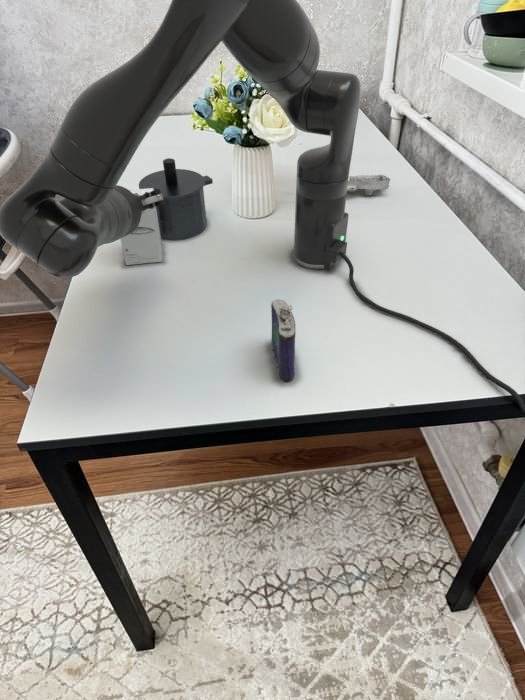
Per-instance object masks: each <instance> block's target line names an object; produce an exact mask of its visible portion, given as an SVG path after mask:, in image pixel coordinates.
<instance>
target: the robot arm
mask: <svg viewBox="0 0 525 700" xmlns="http://www.w3.org/2000/svg"><path fill="white" fill-rule="evenodd" d="M221 43H222V44H223V45H224V47H225V48H226V49H227V50H228V52H229V53H230V55H231V56H232V57H233V58H234V60H236V62H237V63H238V64H239V65H240V67H242V68H243V70H244V71H245V72H246V73H247V75H248V76H250V77H251V78H252V79H253V80H254V81H255V82H256V84H258V85H259V86H260V87H261V88H262V89H264V90H265V91H266V92H267V93H268V94H269V95H270V96H271V97H272V99H273V100H274V101H275V102H277V103H278V105H279V106H280V108H281V109H282V111H283V113H284V114H285V115H286V117H287V119H288V120H289V122H290V123H291V124H292V125H293V127H294V128H295V129H297V130H299V131H301V132H303V133H307V134H308V133H309V134H313V135H314V134H315V135H321V136H327V137H330V142H329V143H328V144H325V145H322V146H318V147H314V148H310V149H308V150H305V151H304V152H302V153H301V154H300V155H299V157H298V158H297V163H296V181H295V182H296V183H295V185H296V186H295V207H294V209H295V211H294V233H293V234H294V237H293V252H292V253H293V254H292V257H293V260H294V261H295V263H296V264H298V265H300V266H301V267H304V268H306V269H310V270H326V271H330V270H332V269H333V268H334V267H335V266H336V265H337V264H338V263H340V262H341V260H344V261H345V263H346V264H347V266H348V269H349V273H348V280H349V283H350V286H351V289H352V290H353V291H354V293H355V295H356V296H357V297H358V298H359V299H360V300H362V301H363V302H364V303H366V304H368V305H369V306H370V307H372V308H374V309H375V310H377V311H379V312H382V313H384V314H387V315H389V316H393V317H395V318H399V319H401V320H404V321H407V322H409V323H412V324H414V325H416V326H418V327H420V328H423V329H425V330H427V331H429V332H432V333H433V334H436V335H438V336H439V337H440V338H443V339H445V340H446V341H448V342H449V343H451V344H452V345H454V346H455V347H456V348H457V349H458V350H460V351H461V352H462V353H463V355H464V356H466V357H467V358H468V360H469V361H470V362H471V364H473V366H474V367H475V368H476V370H478V371H479V372H480V373H481V374H482V376H484V377H485V378H486V379H487V380H488V381H490V382H491V383H493V384H494V385H496V386H498V387H500V388H501V389H503V390H504V391H505V392H507V393H508V394H509V395H511V396H512V397H513V398H514V401H516V403H517V405H518V408H519V409H520V410H521V411H522V412H523V413H525V402H524V400H523V398H522V397H521V395H520V394H519V393H518V392H517V391H516V390H515V389H514V388H512V386H510V385H508V384H506V383H505V382H503V381H502V380H500V379H498V378H496V377H495V376H493V375H492V374H491V373H490V372H489V371H487V369H486V368H485V367H484V366H483V365H482V364H481V363H480V362H479V361H478V360H477V359H476V357H475V356H474V355H473V354H472V353H471V352H470V351H469V350H468V349H467V348H466V347H465V346H464V345H463V344H462V343H460V342H459V341H458V340H457V339H455V338H454V337H452V336H450V335H449V334H447V333H445V332H443V331H442V330H440V329H438V328H437V327H433V326H432V325H429V324H427V323H425V322H423V321H420V320H418V319H416V318H413V317H412V316H409V315H407V314H403V313H401V312H399V311H394V310H392V309H388V308H386V307H383V306H382V305H379V304H377V303H375V302H374V301H372V300H371V299H369V298H368V297H366V296H365V295H364V294H363V293H361V292H360V290H359V289H358V287H357V286H356V282H355V280H354V274H355V273H354V272H355V271H354V269H355V268H354V266H353V263H352V261H351V260H350V259H349V257H348V256H347V255H346V254H347V247H348V242H347V240H346V239H347V234H348V224H349V213H348V212H346V203H347V195H348V191H347V187H348V181H349V179H350V178H349V177H350V169H351V164H352V163H351V162H352V158H353V157H352V155H353V150H354V143H355V135H356V128H357V124H358V123H357V122H358V117H359V112H360V105H361V98H362V97H361V94H362V90H361V89H362V88H361V81H360V79H359V77H358V76H357V75H356V74H354V73H350V72H341V71H333V70H332V71H331V70H322V69H318V66H319V63H320V55H321V47H320V41H319V37H318V34H317V32H316V30H315V28H314V25H313V24H312V22H311V21H310V19H309V17H308V15H307V13H306V12H305V10H304V9H303V7H302V5H300V3H299V2H298V1H297V0H171V2H170V4H169V6H168V9H167V11H166V13H165V16H164V17H163V19H162V21H161V23H160V25H159V27H158V29H157V30H156V32H155V33H154V34H153V36H152V38H151V39H150V40H149V41H148V43H147V44H146V45H145V46H144V47H143V48H142V49H141V50H140V51H138V52H137V53H136V54H135V55H133V56H132V58H130V59H129V60H127V61H126V62H124V63H123V64H122V65H120V66H119V67H117V68H116V69H113V70H112V71H110V72H109V73H107V74H105V75H104V76H101V77H100V78H99V79H97V80H96V81H94V82H92V83H91V84H90V85H88V87H86V89H84V90H83V91H82V92H81V93H80V94H79V95H78V97H76V99H75V100H74V101H73V103H72V104H71V106H70V107H69V109H68V111H67V112H66V114H65V116H64V118H63V121H62V123H61V124H60V127H59V129H58V131H57V133H56V135H55V137H54V139H53V142H52V144H51V146H50V148H49V149H48V152H47V154H46V155H45V157H44V158H43V160H42V161H41V162H40V163H39V165H38V166H37V168H35V170H34V171H33V172H32V173H31V174H30V175H29V177H28V178H27V179H26V180H25V181H24V182H23V183H22V184H21V185H20V186H19V187H17V189H16V190H15V191H14V192H13V193H12V194H11V195H9V196H8V197H7V198H6V199H5V200H4V202H3V203H2V204H1V206H0V236H1V237H2V239H3V240H4V241H5V242H6V243H8V244H9V245H10V246H11V247H13V248H15V250H17V251H18V252H20V253H21V254H23V255H24V256H26V257H27V258H28V259H29V260H31V261H33V262H34V263H35V264H37V265H38V266H39V267H40V268H42V269H43V270H45V271H46V272H48V273H49V274H50V275H52V276H54V277H57V278H63V279H70V278H74V277H76V276H79V275H80V274H81V273H82V272H84V270H86V269H87V268H88V266H89V265H90V264H91V262H92V260H93V258H94V256H95V254H96V252H97V250H98V248H99V247H102V246H103V245H108V244H112V243H114V242H116V241H118V240H121V239H120V238H122V237H124V236H127V235H129V234H130V233H132V232H133V231H134V230H135V229H136V228H137V227H138V225H139V223H140V219H141V215H142V214H145V212H144V211H145V210H146V209H150V208H151V209H153V208H154V207H157V206H160V207H161V206H163V205H164V204H165V202H164V200H163V197H162V194H161V191H160V189H154V191H151V192H145V194H143V195H138V194H137V193H134V194H133V193H132V192H131V191H129V190H130V189H128V188H126V187H124V186H121V185H117V184H118V183H119V181H120V179H121V178H122V176H123V174H124V172H125V171H126V169H127V167H128V165H129V164H130V162H131V160H132V158H134V155H135V153H136V151H137V150H138V148H139V147H140V145H141V143H142V141H143V140H144V139H145V137H146V135H147V134H148V133H149V131H150V130H151V128H152V127H153V125H154V124H155V123H156V121H157V120H158V119H159V118H160V117H161V115H162V114H163V113H164V111H165V110H166V109H167V107H168V106H169V105H170V104H171V103H172V102H173V100H174V99H175V98H176V97H177V96H178V94H179V93H180V92H181V91H182V90H183V89H184V88H185V87H186V86H187V84H188V83H189V82H190V80H191V79H192V78H193V77H194V76H195V75H196V73H197V72H198V71H199V70H200V69H201V68H202V66H203V65H204V64H205V62H206V61H207V60H208V58H209V57H210V56H211V55H212V54H213V52H214V51H215V50H216V48H217V47H218V46H219V45H220V44H221ZM57 195H58V196H60V197H62V198H61V199H60V200H58V199H56V196H57Z"/></svg>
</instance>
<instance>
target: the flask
mask: <svg viewBox="0 0 525 700" xmlns="http://www.w3.org/2000/svg"><path fill="white" fill-rule="evenodd" d="M270 308H271V310H270V312H271V351H272V352H273V358H274V359H273V360H274V362H275V364H276V365H277V366H276V369H278V371H277V375H278V379H279V380H280V381H281V382H283V383H291V382H293V381H294V379H295V375H296V372H295V370H296V368H295V359H296V358H295V355H296V348H295V347H296V321H295V317H294V314H293V312H292V310H293V308H294V307H293V306H292V304H290V305H289V304H288V303H287V301H286V300H285V299H282V298H277V299H274V300H272V301H271V305H270Z"/></svg>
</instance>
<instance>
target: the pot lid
mask: <svg viewBox="0 0 525 700" xmlns="http://www.w3.org/2000/svg"><path fill="white" fill-rule="evenodd" d="M162 167H163V170H158V171H154V172H152V173H149V174H147V175H145V176H144V177H142V178H141V179H140V180H139V182H138V189H147V188H153V189H160V191H161V194H162V197H163V199H176V198H182V197H186V196H190V195H192V194H195V193H197V192H198V191H200V190H201V189H202V188H203V189H204V187H205V186H204V184H205V180H204V178H203V175H202V174H201V173H199V172H197V171H194V170H190V169H183V168H177V167H176V160H175V159H174V158H165V159H163V160H162Z"/></svg>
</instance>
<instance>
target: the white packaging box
mask: <svg viewBox="0 0 525 700" xmlns="http://www.w3.org/2000/svg"><path fill="white" fill-rule="evenodd" d="M128 190H129V191H131V192H132V193H133V194H134V193H137V194H138V195H143V194H145V192H151V191H154V189H153V188H147V189H139V188H136V189H128ZM144 212H145V214H142V215H141V219H140V223H139V225H138V227H137V228H136V229H135V230H134V231H133V232H132V233H130V234H129V235H127V236H124V237H122V238H120V239H119V240H120V243H121V249H122V253H123V257H124V262H125V265H126V266H133V265H140V264H141V265H142V264H151V263H163V248H162V239H161V237H160V230H159V223H158V217H157V211H156V207H154V208H153V209H151V208H150V209H146V210H145V211H144Z"/></svg>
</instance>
